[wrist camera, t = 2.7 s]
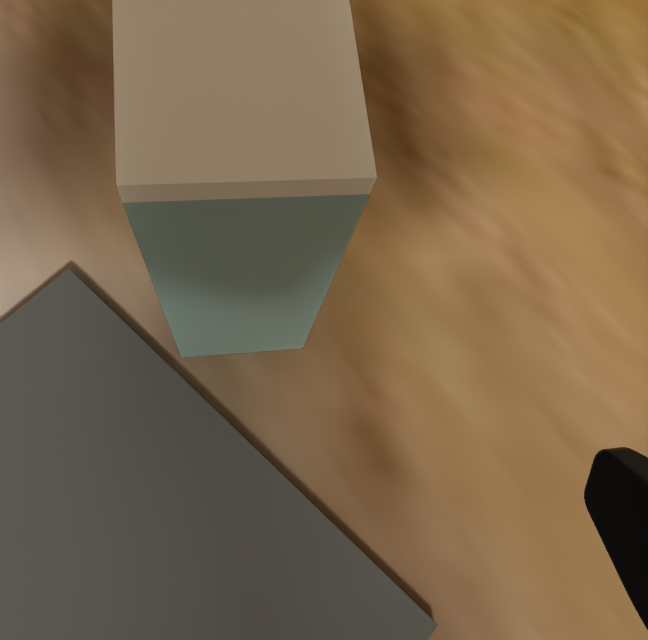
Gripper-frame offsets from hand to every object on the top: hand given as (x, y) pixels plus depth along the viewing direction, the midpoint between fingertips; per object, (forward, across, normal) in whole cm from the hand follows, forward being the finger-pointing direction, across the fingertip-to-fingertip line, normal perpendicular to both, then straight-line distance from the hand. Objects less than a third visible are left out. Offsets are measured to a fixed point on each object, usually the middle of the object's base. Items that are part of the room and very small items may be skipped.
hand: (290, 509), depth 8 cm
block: (+15, 0, +4) cm, 15 cm away
